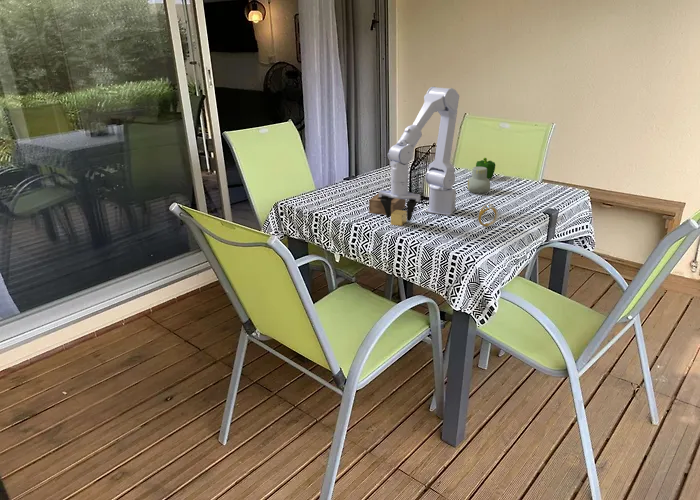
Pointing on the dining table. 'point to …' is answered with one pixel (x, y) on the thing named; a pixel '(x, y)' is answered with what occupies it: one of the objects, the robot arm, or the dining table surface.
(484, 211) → the bracelet
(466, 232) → the dining table surface
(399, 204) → the wooden box
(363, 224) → the dining table surface
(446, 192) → the robot arm
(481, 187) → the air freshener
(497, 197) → the dining table surface
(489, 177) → the bell pepper
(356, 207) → the dining table surface
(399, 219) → the yellow cube
